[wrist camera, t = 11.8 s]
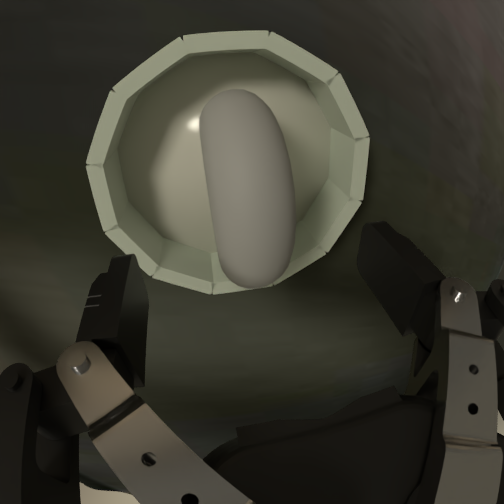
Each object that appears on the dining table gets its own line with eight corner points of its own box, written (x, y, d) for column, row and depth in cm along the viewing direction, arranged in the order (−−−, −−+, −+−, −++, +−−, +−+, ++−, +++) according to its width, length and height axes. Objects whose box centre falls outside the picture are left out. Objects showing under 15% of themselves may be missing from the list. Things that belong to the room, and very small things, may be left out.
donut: (261, 222, 22) (302, 325, 14) (213, 229, 22) (229, 339, 14) (251, 81, 16) (308, 96, 8) (194, 87, 16) (192, 106, 8)
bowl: (137, 266, 24) (129, 304, 20) (94, 61, 14) (68, 61, 11) (328, 240, 25) (350, 273, 22) (339, 43, 16) (373, 41, 13)
